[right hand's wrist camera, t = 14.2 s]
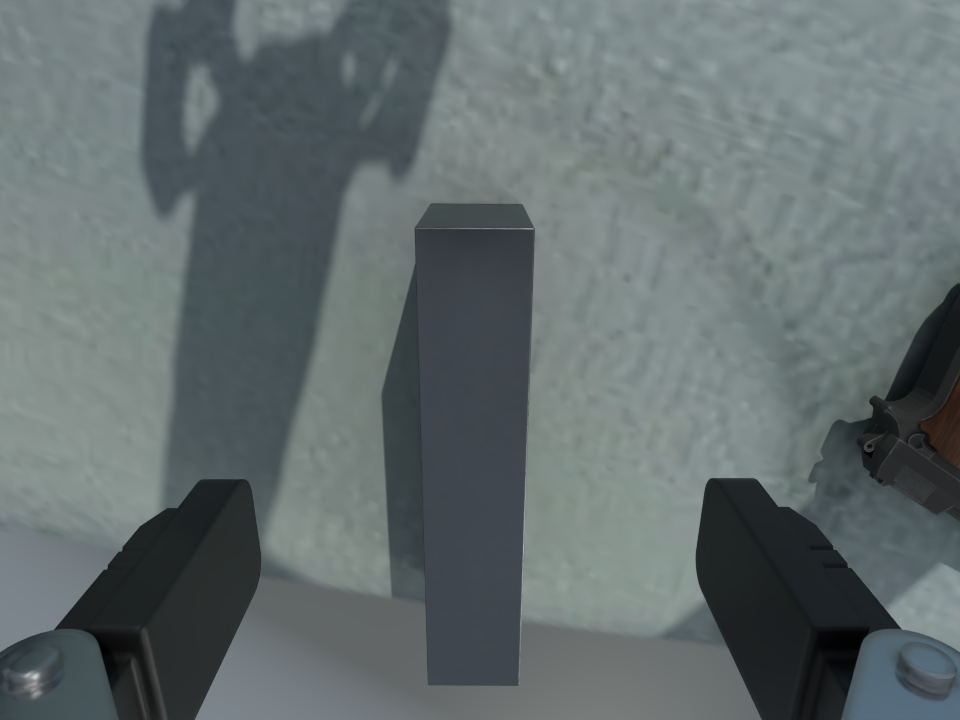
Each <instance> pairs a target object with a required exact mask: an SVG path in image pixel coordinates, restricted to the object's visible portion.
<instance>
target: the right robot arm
mask: <svg viewBox="0 0 960 720" xmlns="http://www.w3.org/2000/svg"><path fill="white" fill-rule="evenodd" d="M260 570H261V552H260V545H259V538H258V531H257V524H256V517H255V510H254V503H253V496H252V490H251V487H250V484H249V482H248V481H247V480H245V479H203V480H200V481H199V482H198V483H197V484H196V485H195V486H194V488H193V489H192V490H191V492H190V493H189V494H188V496H187V497H186V498H185V499H184V501H183V502H182V503H181V505H180V506H179V507H178V508H167V509H165V510H164V511H162V512H161V513H159V514H158V515H156V516H155V517H153V518H152V519H150V520H149V521H147V522H146V523H144V524H143V525H141V526H140V527H139V528H138V529H137V531H136V532H135V533H134V534H133V535H132V537H131V538H130V539H129V540H128V541H127V543H126V544H125V545H124V546H123V550H122V552H118V554H117V555H116V556H115V557H114V558H113V560H112V561H111V562H110V563H109V564H108V569H107V570H103V572H102V573H101V574H100V575H99V576H98V578H97V579H96V580H95V581H94V582H93V584H92V585H91V586H90V587H89V588H88V590H87V591H86V592H85V593H84V594H83V596H82V597H81V598H80V599H79V600H78V602H77V603H76V604H75V605H74V606H73V608H72V609H71V610H70V611H69V612H68V614H67V615H66V616H65V617H64V618H63V620H62V621H61V622H60V623H59V625H58V626H57V627H56V628H55V629H54V630H52V631H48V632H44V633H40V634H37V635H34V636H31V637H28V638H26V639H24V640H21V641H19V642H17V643H15V644H13V645H11V646H9V647H8V648H6V649H5V650H3V651H1V652H0V720H195V718H196V716H197V714H198V711H199V709H200V707H201V705H202V703H203V701H204V699H205V697H206V695H207V693H208V690H209V688H210V686H211V684H212V682H213V680H214V678H215V676H216V673H217V671H218V669H219V667H220V665H221V663H222V661H223V659H224V657H225V655H226V652H227V650H228V648H229V646H230V644H231V642H232V640H233V638H234V635H235V633H236V631H237V629H238V627H239V625H240V623H241V621H242V619H243V617H244V614H245V612H246V610H247V608H248V606H249V604H250V602H251V600H252V598H253V595H254V593H255V591H256V588H257V585H258V582H259V577H260ZM696 571H697V577H698V582H699V585H700V588H701V591H702V593H703V595H704V597H705V599H706V601H707V603H708V606H709V608H710V610H711V612H712V614H713V616H714V618H715V621H716V623H717V625H718V627H719V629H720V631H721V633H722V636H723V638H724V640H725V642H726V644H727V646H728V648H729V650H730V652H731V655H732V657H733V659H734V661H735V663H736V665H737V668H738V670H739V672H740V674H741V676H742V678H743V680H744V682H745V685H746V687H747V689H748V691H749V693H750V695H751V697H752V700H753V702H754V704H755V706H756V708H757V710H758V712H759V715H760V717H761V719H762V720H960V652H959V651H957V650H955V649H954V648H952V647H951V646H949V645H947V644H945V643H943V642H941V641H939V640H936V639H934V638H932V637H929V636H926V635H923V634H920V633H917V632H912V631H908V630H902V629H901V628H900V627H899V625H898V624H897V623H896V622H895V621H894V619H893V618H892V617H891V616H890V615H889V613H888V612H887V611H886V610H885V608H884V607H883V606H882V605H881V604H880V602H879V601H878V600H877V599H876V598H875V596H874V595H873V594H872V593H871V591H870V590H869V589H868V588H867V587H866V585H865V584H864V583H863V582H862V581H861V579H860V578H859V577H858V576H857V574H856V573H855V572H854V571H853V570H852V568H848V566H847V562H846V561H845V560H844V559H843V557H842V556H841V555H840V554H839V553H838V551H837V550H833V545H832V544H831V543H830V542H829V540H828V539H827V538H826V537H825V536H824V534H823V533H822V532H821V531H820V530H819V528H818V527H817V526H816V525H815V524H814V523H812V522H811V521H809V520H808V519H806V518H805V517H803V516H802V515H800V514H799V513H797V512H796V511H794V510H793V509H791V508H790V507H778V506H777V505H776V503H775V502H774V501H773V499H772V498H771V497H770V496H769V494H768V493H767V492H766V490H765V489H764V488H763V486H762V485H761V484H760V483H759V481H758V480H756V479H754V478H711V479H709V481H708V482H707V484H706V487H705V492H704V499H703V506H702V513H701V520H700V527H699V534H698V541H697V549H696Z"/></svg>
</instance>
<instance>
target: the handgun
mask: <svg viewBox="0 0 960 720" xmlns="http://www.w3.org/2000/svg"><path fill="white" fill-rule="evenodd" d="M869 402H870V404H871V405H872V406H873V416H872V419H871V420H872V421H871V423H870V424H869V425H868V427H867V428H866V430H865V431H864V433H863V435H862V436H861V437H859V438H858V439H857V444H858V445H859V446H860V447H861V448H862V460H863V465H864V467H865V468H866V469H867V470H869V471H870V475H869V476H871V477H872V478H873V479H875V480H876V481H877V482H878V483H880V484H881V485H882V486H887V485H891V486H892V487H894V488H895V489H897V490H898V491H900V492H901V493H903V494H904V495H906V496H907V497H909V498H910V499H912V500H914V501H915V502H917V503H918V504H920V505H921V506H923V507H924V508H926V509H927V510H929V511H930V512H932V513H933V514H935V515H938V514H940V513H942V512H944V511H945V512H947V513H948V514H950V515H951V516H953V517H954V518H956V519H957V520H959V521H960V294H959V295H958V297H957V298H956V300H955V301H954V303H953V305H952V307H951V309H950V311H949V313H948V315H947V317H946V319H945V321H944V324H943V326H942V328H941V330H940V332H939V335H938V337H937V339H936V341H935V343H934V345H933V348H932V350H931V352H930V354H929V356H928V358H927V360H926V363H925V365H924V367H923V369H922V371H921V373H920V375H919V377H918V379H917V381H916V384H915V385H914V387H913V389H912V390H911V392H910V393H909V394H908V395H907V396H905V397H904V398H902V399H900V400H896V401H889V402H888V401H884V400H882V399H880V398H879V397H877V396H873V397H872V398H871V399H870V400H869Z"/></svg>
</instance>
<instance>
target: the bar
mask: <svg viewBox="0 0 960 720" xmlns="http://www.w3.org/2000/svg"><path fill="white" fill-rule="evenodd" d="M534 237H535V229H534V227H533V225H532V223H531V221H530V219H529V217H528V215H527V213H526V211H525V208H524V206H523V205H522V204H430V206H429V207H428V209H427V210H426V212H425V213H424V215H423V217H422V218H421V220H420V221H419V223H418V224H417V226H416V227H415V253H416V287H417V322H418V356H419V391H420V426H421V460H422V495H423V529H424V564H425V598H426V633H427V667H428V685H482V686H519V677H520V648H521V619H522V589H523V560H524V531H525V501H526V472H527V442H528V413H529V384H530V354H531V325H532V296H533V266H534Z"/></svg>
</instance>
